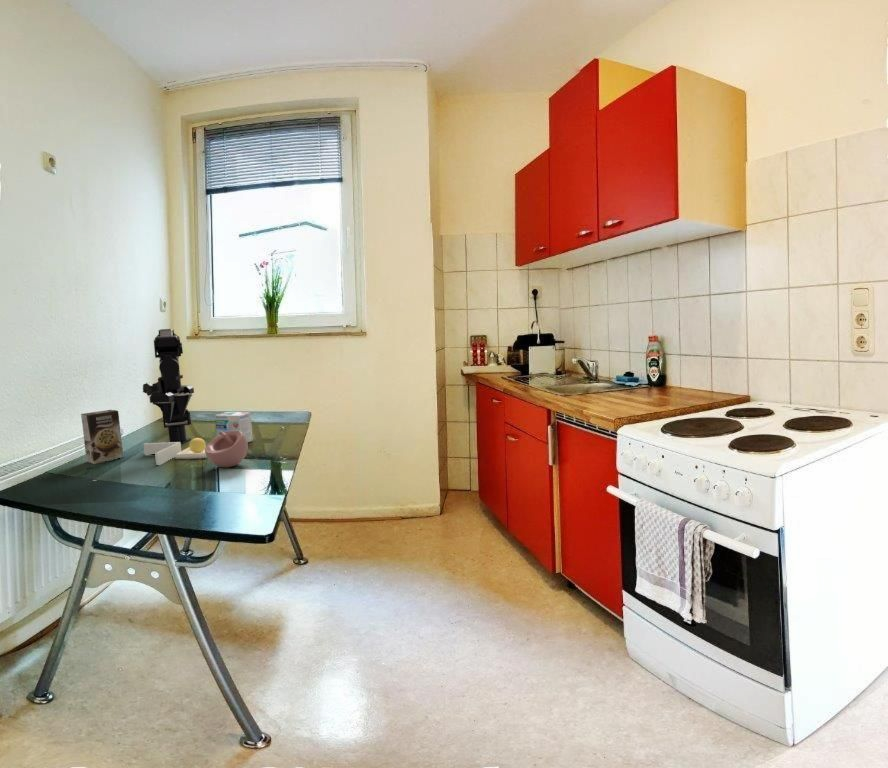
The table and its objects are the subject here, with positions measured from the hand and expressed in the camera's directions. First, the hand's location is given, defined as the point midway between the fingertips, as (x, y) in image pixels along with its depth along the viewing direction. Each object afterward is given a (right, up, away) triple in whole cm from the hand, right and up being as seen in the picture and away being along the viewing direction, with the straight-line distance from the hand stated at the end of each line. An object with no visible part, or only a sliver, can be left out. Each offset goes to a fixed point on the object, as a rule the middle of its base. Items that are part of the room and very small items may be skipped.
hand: (175, 418), depth 178 cm
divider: (-3, -13, -8) cm, 16 cm away
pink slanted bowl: (+26, -14, -20) cm, 36 cm away
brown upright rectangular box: (-20, -14, -5) cm, 25 cm away
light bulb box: (+16, -10, +12) cm, 22 cm away
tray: (+10, -12, -4) cm, 16 cm away
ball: (+10, -11, -4) cm, 15 cm away
